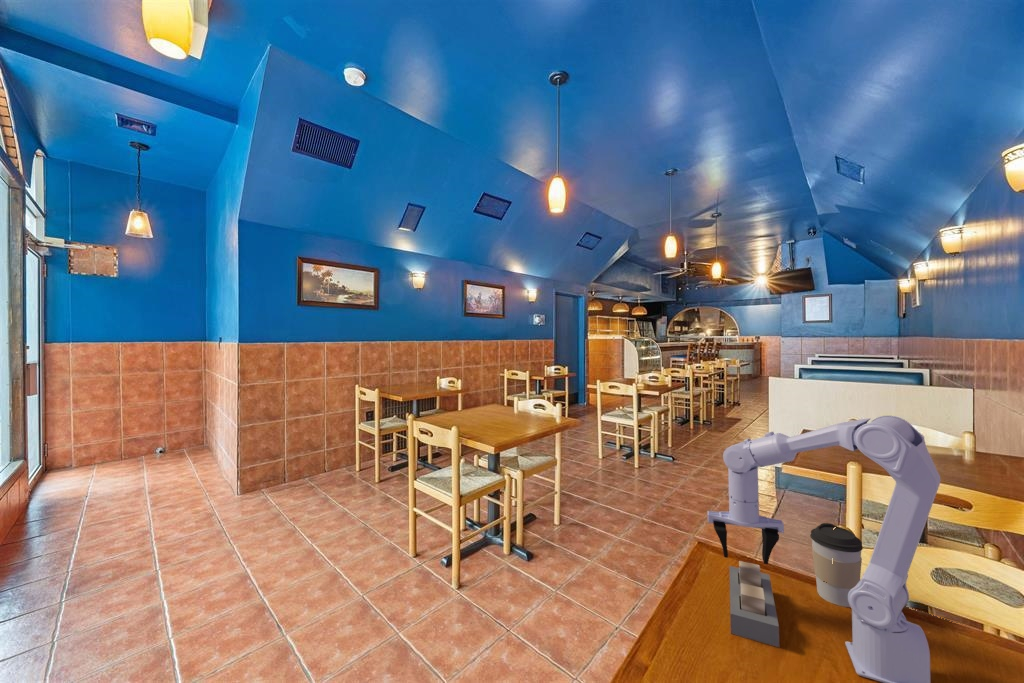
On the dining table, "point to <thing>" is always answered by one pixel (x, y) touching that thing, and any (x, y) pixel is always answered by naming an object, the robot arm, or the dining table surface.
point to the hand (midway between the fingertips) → (745, 558)
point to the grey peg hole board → (749, 622)
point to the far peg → (750, 574)
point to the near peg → (752, 599)
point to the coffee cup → (836, 562)
